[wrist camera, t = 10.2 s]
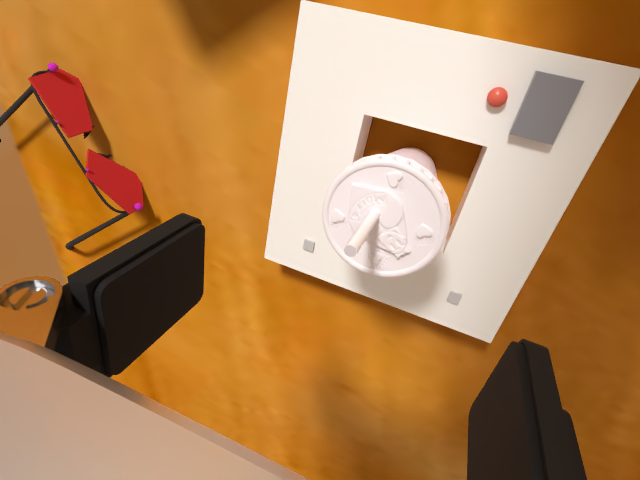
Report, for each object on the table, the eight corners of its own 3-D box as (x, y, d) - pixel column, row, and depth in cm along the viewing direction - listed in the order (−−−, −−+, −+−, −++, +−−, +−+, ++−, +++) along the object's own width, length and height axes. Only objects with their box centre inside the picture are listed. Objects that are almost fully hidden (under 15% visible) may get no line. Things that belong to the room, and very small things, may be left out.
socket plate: (318, 6, 24) (296, -2, 21) (622, 68, 20) (649, 69, 17) (280, 242, 33) (260, 261, 30) (488, 318, 29) (490, 348, 26)
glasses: (163, 201, 36) (122, 219, 32) (73, 249, 44) (31, 268, 40) (79, 60, 33) (21, 59, 29) (-1, 138, 41) (-56, 147, 37)
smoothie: (422, 106, 25) (376, 147, 13) (475, 185, 25) (479, 293, 14) (348, 162, 28) (256, 236, 16) (397, 230, 29) (345, 348, 17)
